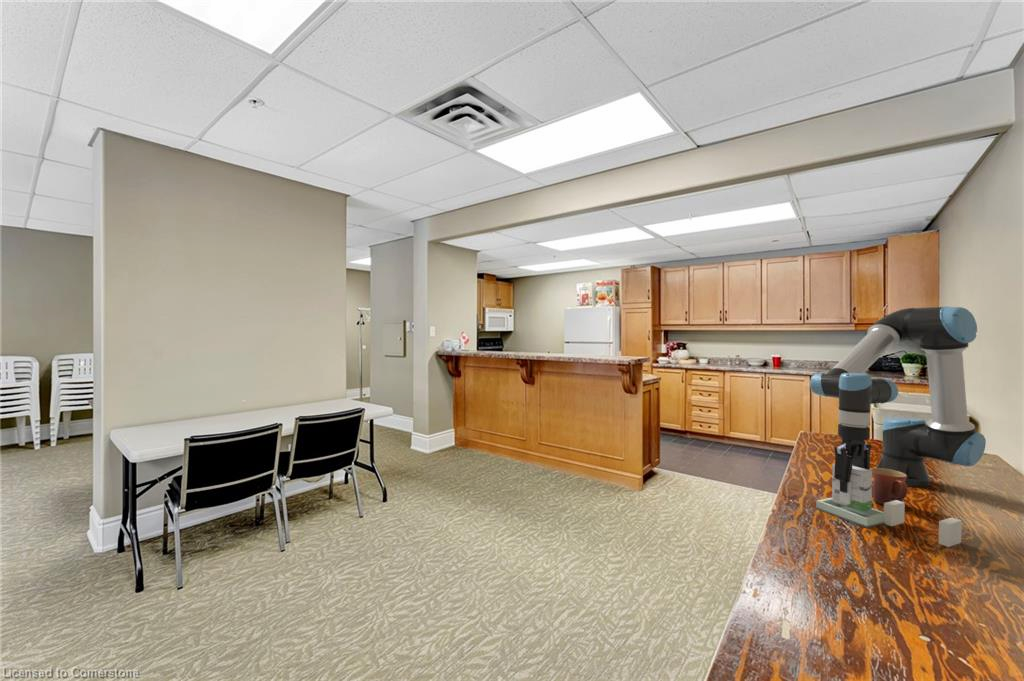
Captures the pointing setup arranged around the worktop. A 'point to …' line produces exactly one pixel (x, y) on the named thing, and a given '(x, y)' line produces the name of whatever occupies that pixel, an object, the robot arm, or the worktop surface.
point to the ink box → (856, 489)
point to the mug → (888, 485)
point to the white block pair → (947, 527)
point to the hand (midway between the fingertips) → (851, 501)
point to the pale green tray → (851, 513)
